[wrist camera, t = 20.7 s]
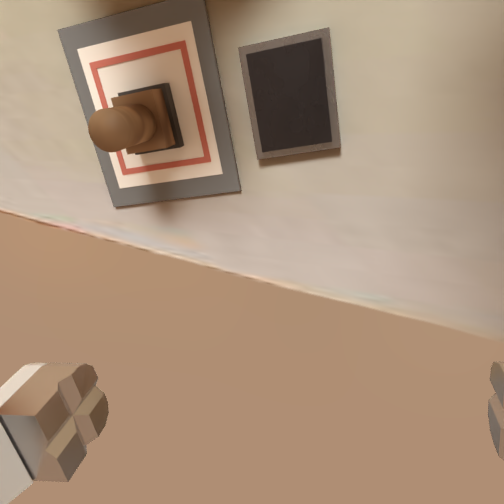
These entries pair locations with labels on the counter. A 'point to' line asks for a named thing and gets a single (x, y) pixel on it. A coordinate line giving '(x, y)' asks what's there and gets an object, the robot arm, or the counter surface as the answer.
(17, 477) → the robot arm
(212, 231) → the counter surface
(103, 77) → the mat
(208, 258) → the counter surface
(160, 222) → the counter surface
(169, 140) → the stamp
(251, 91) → the ink pad
